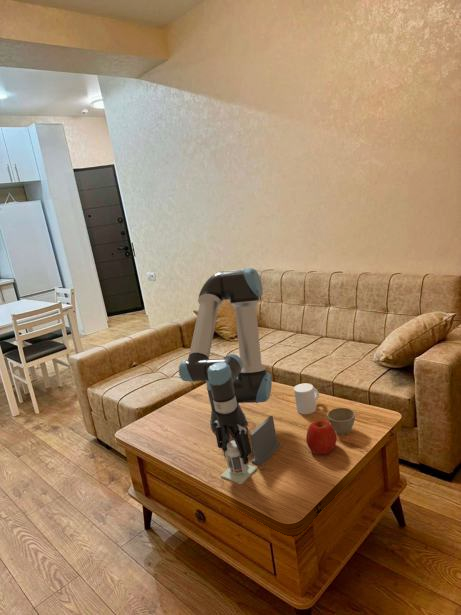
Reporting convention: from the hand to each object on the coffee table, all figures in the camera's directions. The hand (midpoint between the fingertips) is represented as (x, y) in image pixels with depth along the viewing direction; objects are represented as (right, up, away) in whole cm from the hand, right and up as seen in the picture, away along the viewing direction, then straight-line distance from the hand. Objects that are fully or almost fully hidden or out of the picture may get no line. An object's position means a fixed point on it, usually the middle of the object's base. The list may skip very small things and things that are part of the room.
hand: (238, 468), depth 144 cm
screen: (+11, +2, +8) cm, 13 cm away
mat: (0, -2, 0) cm, 2 cm away
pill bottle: (0, 0, 0) cm, 1 cm away
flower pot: (+40, +9, +14) cm, 43 cm away
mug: (+31, +13, +34) cm, 48 cm away
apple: (+30, +5, +5) cm, 31 cm away
